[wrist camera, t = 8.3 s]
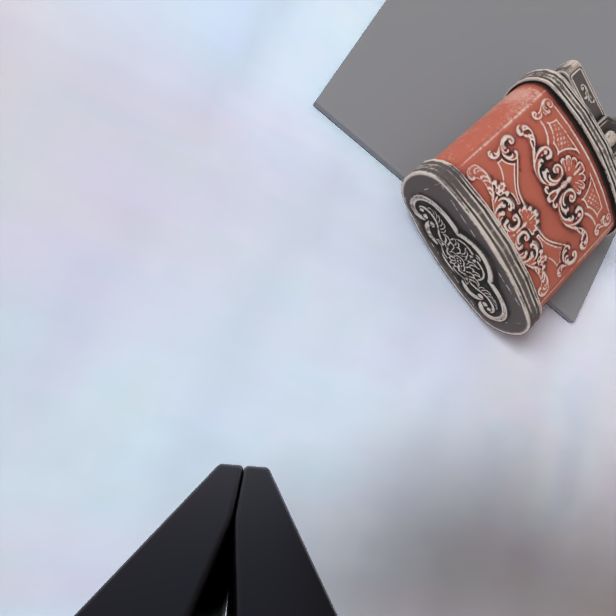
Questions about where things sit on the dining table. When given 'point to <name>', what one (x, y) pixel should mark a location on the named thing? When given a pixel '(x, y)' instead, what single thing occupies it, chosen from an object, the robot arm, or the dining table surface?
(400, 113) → the mat
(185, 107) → the dining table surface
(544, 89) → the lighter
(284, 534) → the robot arm
